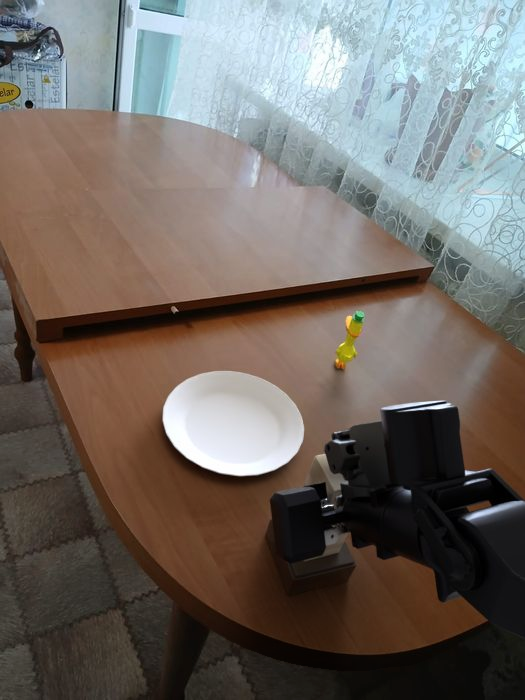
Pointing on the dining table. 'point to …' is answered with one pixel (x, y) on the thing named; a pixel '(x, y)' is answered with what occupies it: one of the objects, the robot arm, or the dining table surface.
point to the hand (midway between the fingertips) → (322, 496)
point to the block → (323, 474)
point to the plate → (233, 423)
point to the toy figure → (350, 339)
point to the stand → (312, 568)
